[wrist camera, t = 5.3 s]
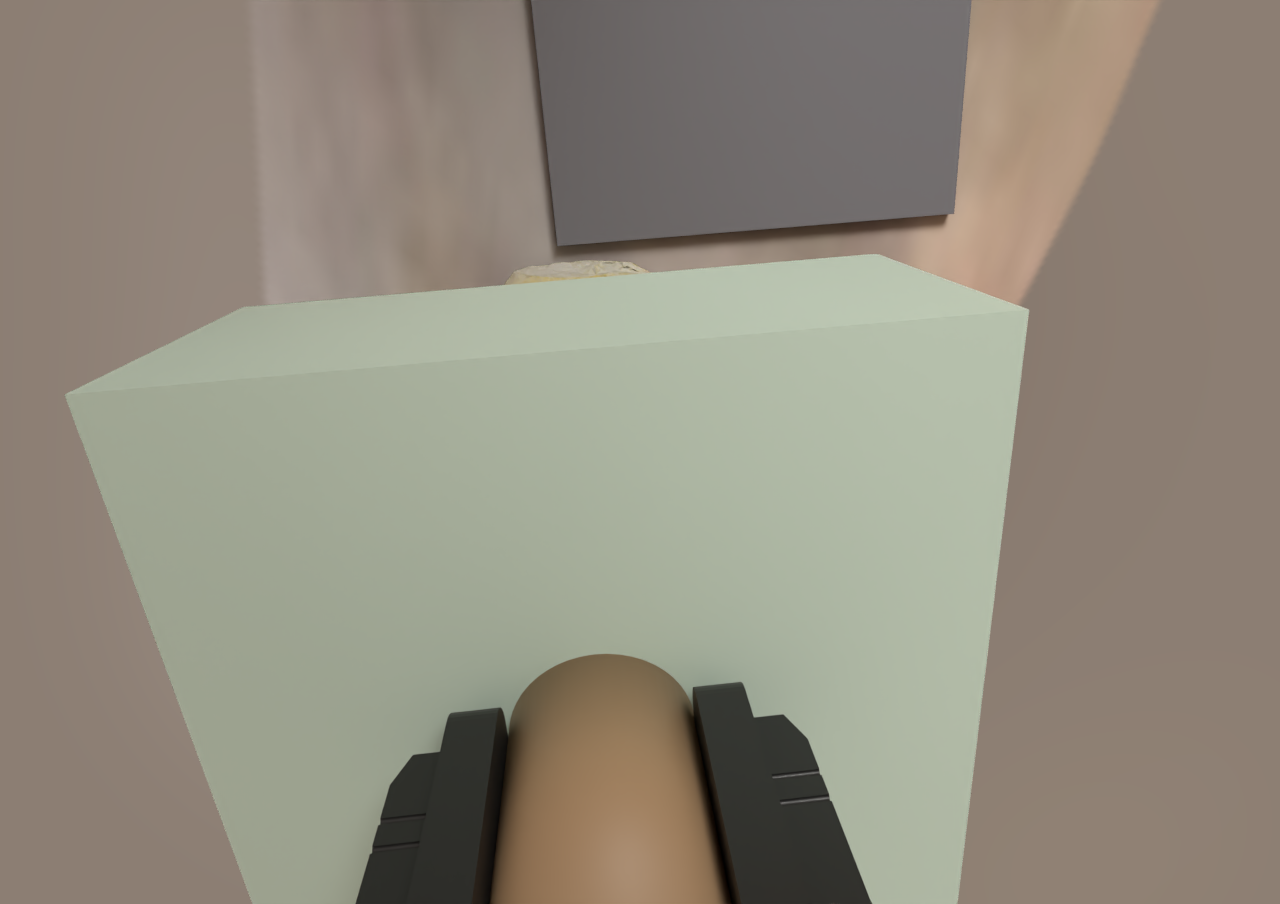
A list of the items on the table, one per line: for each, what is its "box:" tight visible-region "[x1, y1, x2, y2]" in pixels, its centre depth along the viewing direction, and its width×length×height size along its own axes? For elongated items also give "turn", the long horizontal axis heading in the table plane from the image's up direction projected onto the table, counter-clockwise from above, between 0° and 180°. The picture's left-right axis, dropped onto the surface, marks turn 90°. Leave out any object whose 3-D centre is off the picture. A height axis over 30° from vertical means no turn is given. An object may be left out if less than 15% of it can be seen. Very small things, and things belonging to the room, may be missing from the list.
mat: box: [531, 0, 971, 246], centre depth 24 cm, size 14×14×1 cm
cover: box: [65, 254, 1029, 904], centre depth 12 cm, size 12×12×9 cm
